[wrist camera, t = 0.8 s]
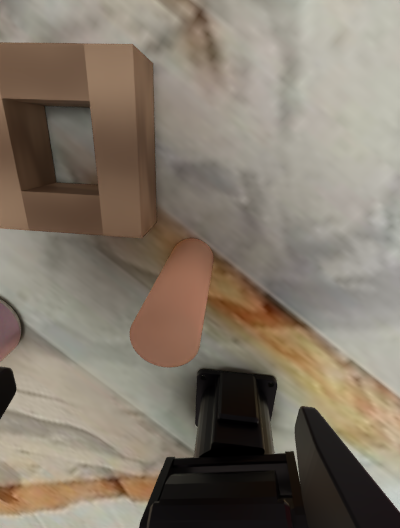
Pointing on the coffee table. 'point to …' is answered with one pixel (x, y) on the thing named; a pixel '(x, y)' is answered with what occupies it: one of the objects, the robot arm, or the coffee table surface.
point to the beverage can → (8, 329)
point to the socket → (104, 134)
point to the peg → (175, 307)
